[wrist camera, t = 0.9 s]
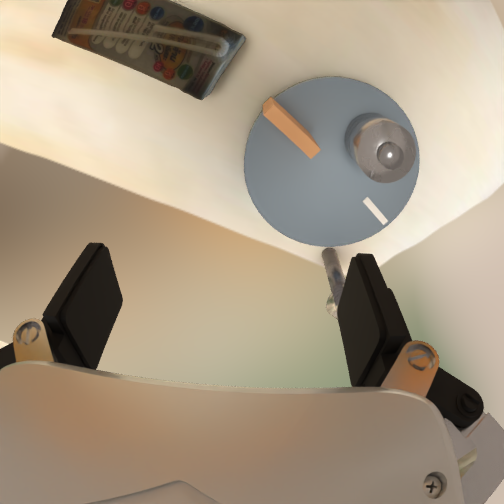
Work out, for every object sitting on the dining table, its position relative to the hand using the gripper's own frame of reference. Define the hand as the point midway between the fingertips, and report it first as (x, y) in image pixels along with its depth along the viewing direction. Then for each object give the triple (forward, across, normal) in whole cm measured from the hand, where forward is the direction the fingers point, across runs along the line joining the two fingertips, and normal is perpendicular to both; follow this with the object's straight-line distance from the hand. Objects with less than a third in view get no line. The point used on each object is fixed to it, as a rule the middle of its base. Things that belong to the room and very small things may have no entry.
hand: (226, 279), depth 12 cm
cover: (+23, -13, 0) cm, 26 cm away
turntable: (+24, -10, +4) cm, 26 cm away
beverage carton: (+26, +10, -11) cm, 31 cm away
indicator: (+26, -11, +17) cm, 33 cm away
